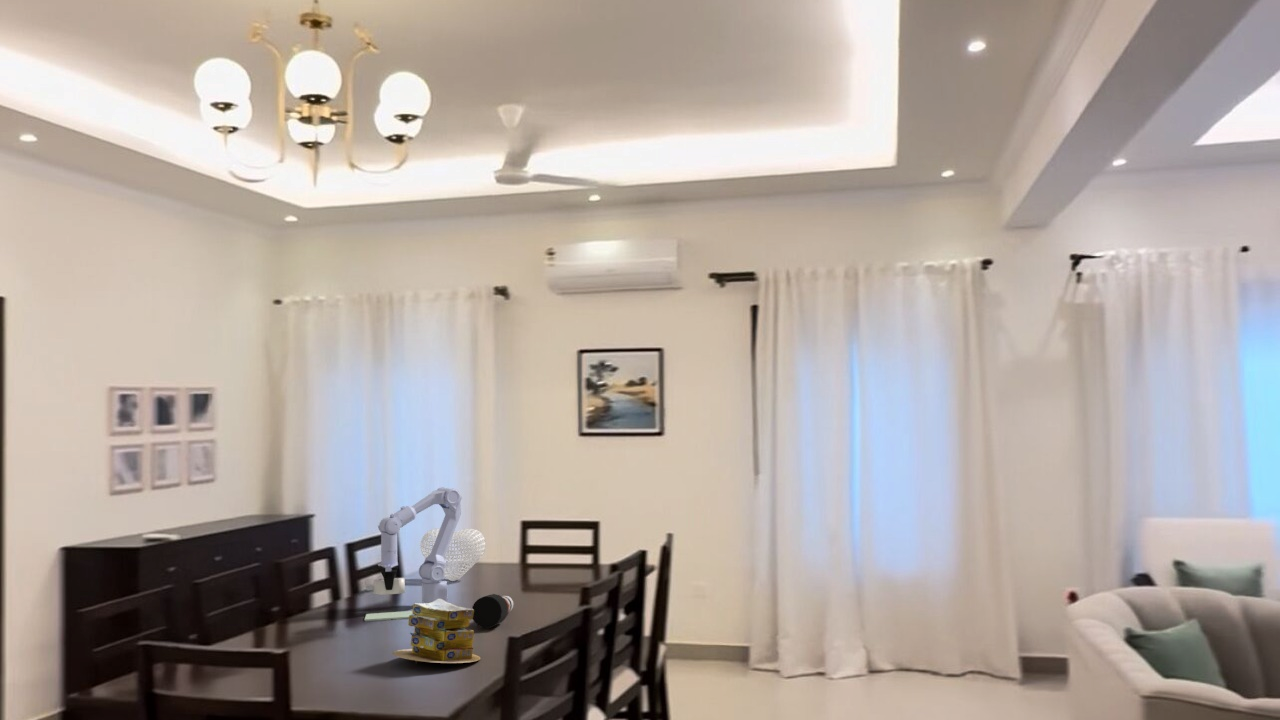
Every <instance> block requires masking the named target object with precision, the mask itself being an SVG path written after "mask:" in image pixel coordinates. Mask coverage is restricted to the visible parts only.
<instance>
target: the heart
mask: <svg viewBox="0 0 1280 720" xmlns="http://www.w3.org/2000/svg"><path fill="white" fill-rule="evenodd" d="M439 530H440V528H433V529H431V530H427V532H426V533H424V534H423V536H422V538H421V541H420V551H421V554H422V555H423V557H424V560H425V559H426V558H427V557H428V556H429V555H430V554H431V551H432V549H433V546H434V544H435V541H436V538H437V536H438V533H439ZM486 544H487V543H486V538H485V536H484V535H483V533H482V532H481V531H479V530H478V529H474V528H463V529H460V530H457V531H454V534H453V536H452V539H451V542H450V544H449V547H448V550H447V552H446V555H445V558H444V559H445V562H446V566H445V575H444V577H445V578H446V579H447V580H449V581H451V582H457V580H459V579H460V578H462V577H463V576H464V575H465V574H466V573H467V572H468V571H469V570H470V569H471V568H473V566H475V564H477V563H478V562H479V560H480V559H481V558H482V556H483V554H484V553H485V550H486ZM459 552H460V553H459ZM462 552H463V553H462Z"/></svg>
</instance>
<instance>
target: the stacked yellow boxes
mask: <svg viewBox="0 0 1280 720" xmlns="http://www.w3.org/2000/svg"><path fill="white" fill-rule="evenodd" d="M473 614H474V610H473V608H470V607H465V606H459V605H455V604H453V603H450V602H449V601H447V602H445V601H444V600H443V599H437V600H435V601H433V602H431V603H422V602H421V603H420V602H414V604H413V605H412V615H410V616H409V619H408V626H410V627H414V628H413V633H412V632H410V633H409V634H410V635H411V640H410V646H412V648H406V649H398V650H395V651H393V652H392V655H393V656H395V657H398V658H401V659H405V660H410V661H415V662H414V663H415V664H416V665H417V663H419V662H425V663H437V664H438V663H440V664H463V663H473V662H477V661H480V660H481V656H479V655H477V654H474V653H473V651H474V646H473V644H474V633H475V631H474V629H470V628H469V627H470V626H469V625H470V620H473Z"/></svg>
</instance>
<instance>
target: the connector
mask: <svg viewBox="0 0 1280 720" xmlns="http://www.w3.org/2000/svg"><path fill="white" fill-rule="evenodd" d="M405 580H406V579H405V577H395V578H394V582H393V588H392V590H386V588H385V582H384V578H375V579H373V583H368V584H366V586H365V587H366V589H365V590H366V592H367V591H373V595H374V596H379V595H397V594H398V595H400V594H405V593H406V592H405V589H406V587H405V586H406V584H405V582H406V581H405Z"/></svg>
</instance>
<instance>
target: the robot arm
mask: <svg viewBox="0 0 1280 720" xmlns="http://www.w3.org/2000/svg"><path fill="white" fill-rule="evenodd" d="M462 499H463V498H462V496H461V494H460V492H459V490H457V489H456V488H450V487H449V488H448V487H447V488H446V487H443V486H442V487H441V486H440V487H439V488H437V489H436V490H433V491H432V492H430V493H429V494H428V495H426V496H425V497H424V498H422V499H420V500H419V501H418V502H416V503H415V504H413V505H412V506H409V505H408V506H407V505H406V506H401V507H400V509H398V510H397V511H396V512H394V513H391V514H389V517H384V518H382V519H381V520H380V522H379V523H378V525H377V527H378V530H379V532H380V533H381V534H380V540H381V541H380V543H381V544H380V545H381V546H380V548H381V549H380V550H381V551H380V557H381V560H380V561H381V562H379V563H377V566H378V567H382V568H381V570H380V575H382V579H384V582H385V588H386V590H392V588H393V582H394V578H396V574H397V572H398V568H399V567H398V566H399V562H398V533H399V532H400V530H401V528H403V527H404V526H406V525H407V524H409V523H411V522H412V521H414V520H415V519H416V517H417V515H418V514H419V513H421V512H422V511H425V510H427V509H428V508H430V507H432V506H433V505H434V506H435V505H439V506H440V507H441V508H442V510H443V512H444V518H443V520H442V522H441V525H440V528H439V529H440V530H439V531H438V532H439V533H438V536H437V538H435V540H434V541H435V542H434V543H435V544H433V545H434V546H433V549H432V548H431V549H432V550H431V552H430V553H431V554H429V556H428V555H427V556H428V557H427V556H426V557H427V558H426V559H425V558H424V561H423V563H421V565H420V566H419V568H418V574H419V577H420V578H421V600H422V601H421V603H431V602H433V601H435V600H437V599H443V600H444V601H445V602H449V595H448V581H447V580H443V579H444V577H445V576H444V575H445V569H446V567H447V566H446V565H447V563H446V562H445V561H446V559H444V558H445V555H446V553H447V551H448V547H449V546H450V545H451V543H450V542H452V541H451V539H452V536H453V534H454V532H456V529H457V525H458V523H459V520H460V517H461V514H462V508H461V506H462V505H461V502H462ZM449 544H450V545H449ZM449 548H450V547H449ZM445 566H446V567H445Z"/></svg>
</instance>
